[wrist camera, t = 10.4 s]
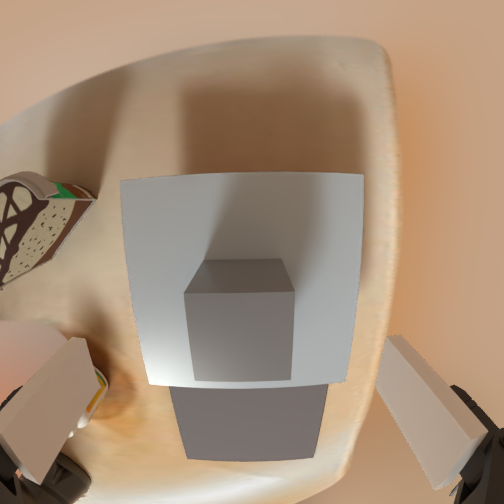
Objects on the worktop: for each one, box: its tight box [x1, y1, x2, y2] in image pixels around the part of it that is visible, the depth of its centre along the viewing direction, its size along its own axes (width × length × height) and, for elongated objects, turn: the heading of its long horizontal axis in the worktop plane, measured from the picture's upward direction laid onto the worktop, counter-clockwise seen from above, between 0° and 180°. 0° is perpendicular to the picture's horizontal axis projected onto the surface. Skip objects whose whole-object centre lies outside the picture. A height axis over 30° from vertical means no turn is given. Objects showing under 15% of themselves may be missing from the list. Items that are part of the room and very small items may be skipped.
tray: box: [169, 384, 328, 462], centre depth 31 cm, size 18×18×1 cm
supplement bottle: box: [69, 366, 108, 437], centre depth 25 cm, size 5×5×10 cm
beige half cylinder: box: [0, 172, 97, 291], centre depth 20 cm, size 12×6×10 cm, turn 131°
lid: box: [120, 172, 364, 389], centre depth 17 cm, size 16×16×7 cm
